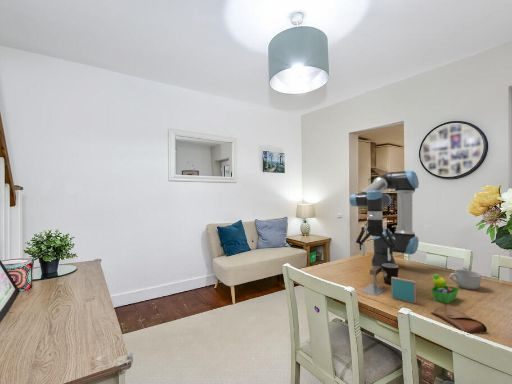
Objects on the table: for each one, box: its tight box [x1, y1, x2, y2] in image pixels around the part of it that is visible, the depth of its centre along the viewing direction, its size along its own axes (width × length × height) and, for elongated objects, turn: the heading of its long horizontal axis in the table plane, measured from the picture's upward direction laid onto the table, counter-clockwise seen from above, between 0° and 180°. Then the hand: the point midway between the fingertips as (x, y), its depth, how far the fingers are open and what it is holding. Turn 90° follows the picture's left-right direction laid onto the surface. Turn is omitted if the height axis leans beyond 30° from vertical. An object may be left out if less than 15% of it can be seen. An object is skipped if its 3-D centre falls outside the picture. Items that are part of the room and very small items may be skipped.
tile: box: [390, 277, 417, 304], centre depth 123 cm, size 2×10×10 cm, turn 47°
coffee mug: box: [380, 263, 400, 286], centre depth 147 cm, size 12×9×10 cm
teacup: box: [449, 268, 482, 291], centre depth 136 cm, size 14×11×8 cm
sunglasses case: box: [430, 303, 488, 335], centre depth 102 cm, size 18×7×7 cm, turn 8°
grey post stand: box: [360, 266, 386, 297], centre depth 137 cm, size 16×8×11 cm, turn 137°
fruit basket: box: [430, 273, 459, 304], centre depth 123 cm, size 11×9×11 cm
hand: (375, 258), depth 139 cm, fingers open, 13 cm apart
